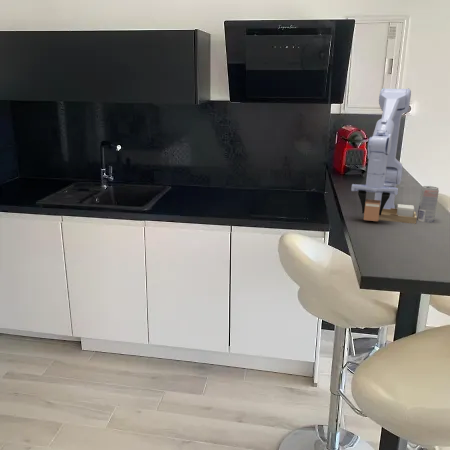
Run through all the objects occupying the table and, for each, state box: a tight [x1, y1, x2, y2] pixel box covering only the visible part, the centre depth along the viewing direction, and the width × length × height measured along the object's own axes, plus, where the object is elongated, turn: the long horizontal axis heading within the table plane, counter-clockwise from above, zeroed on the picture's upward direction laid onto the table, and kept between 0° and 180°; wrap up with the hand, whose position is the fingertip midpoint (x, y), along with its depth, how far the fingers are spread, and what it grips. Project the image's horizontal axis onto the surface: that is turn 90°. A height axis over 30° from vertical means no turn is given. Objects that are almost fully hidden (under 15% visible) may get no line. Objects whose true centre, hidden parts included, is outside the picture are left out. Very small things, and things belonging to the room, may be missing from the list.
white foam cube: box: [396, 203, 415, 217], centre depth 157 cm, size 5×5×4 cm
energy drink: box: [416, 185, 440, 224], centre depth 155 cm, size 5×5×12 cm
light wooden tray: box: [378, 207, 418, 225], centre depth 159 cm, size 9×14×3 cm, turn 70°
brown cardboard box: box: [363, 198, 381, 222], centre depth 153 cm, size 5×5×6 cm
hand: (371, 213), depth 153 cm, fingers closed on brown cardboard box, 5 cm apart
